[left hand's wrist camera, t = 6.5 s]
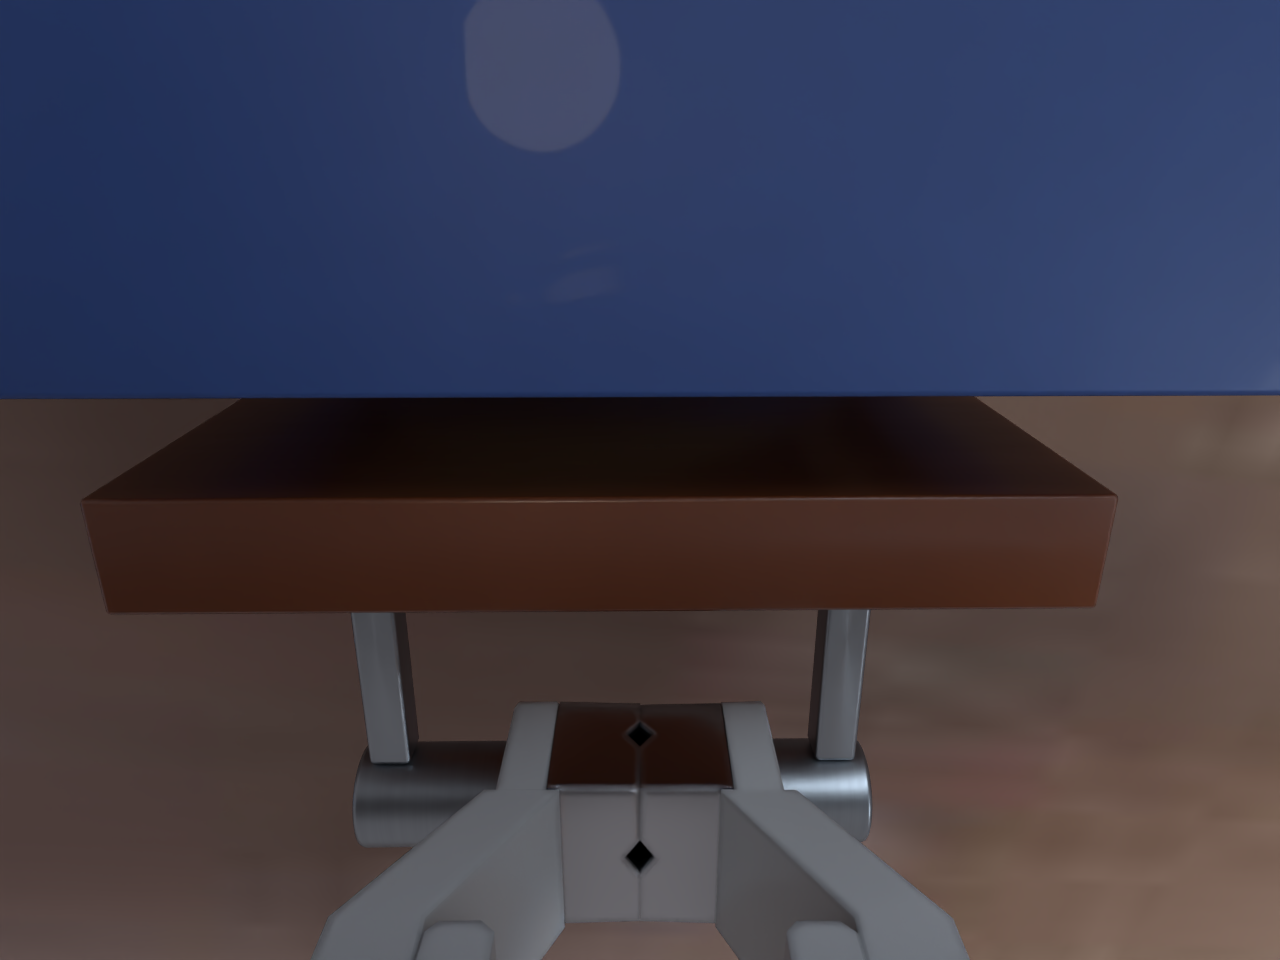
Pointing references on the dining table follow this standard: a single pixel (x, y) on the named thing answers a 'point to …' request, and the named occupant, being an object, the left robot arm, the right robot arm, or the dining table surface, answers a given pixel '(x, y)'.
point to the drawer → (597, 540)
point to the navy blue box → (638, 198)
